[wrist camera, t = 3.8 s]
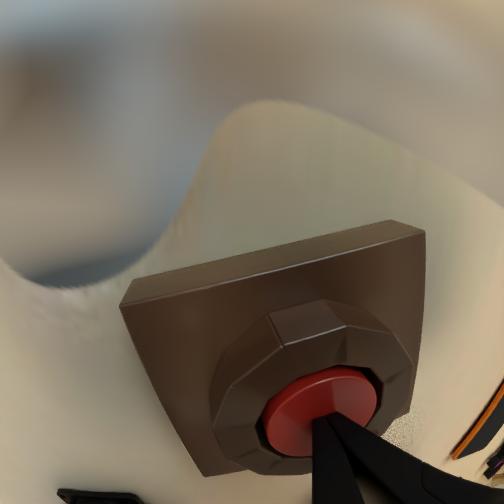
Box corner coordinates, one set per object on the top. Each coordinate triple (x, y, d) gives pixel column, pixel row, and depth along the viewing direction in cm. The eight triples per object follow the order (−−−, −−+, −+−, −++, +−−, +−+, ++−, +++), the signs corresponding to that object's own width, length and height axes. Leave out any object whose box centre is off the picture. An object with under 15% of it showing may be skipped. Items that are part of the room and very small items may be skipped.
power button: (265, 433, 10) (275, 467, 8) (246, 363, 9) (256, 400, 7) (354, 404, 10) (373, 433, 9) (354, 331, 9) (380, 359, 8)
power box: (200, 444, 13) (206, 509, 9) (131, 279, 10) (100, 337, 6) (388, 387, 14) (428, 435, 10) (391, 218, 11) (462, 242, 7)
